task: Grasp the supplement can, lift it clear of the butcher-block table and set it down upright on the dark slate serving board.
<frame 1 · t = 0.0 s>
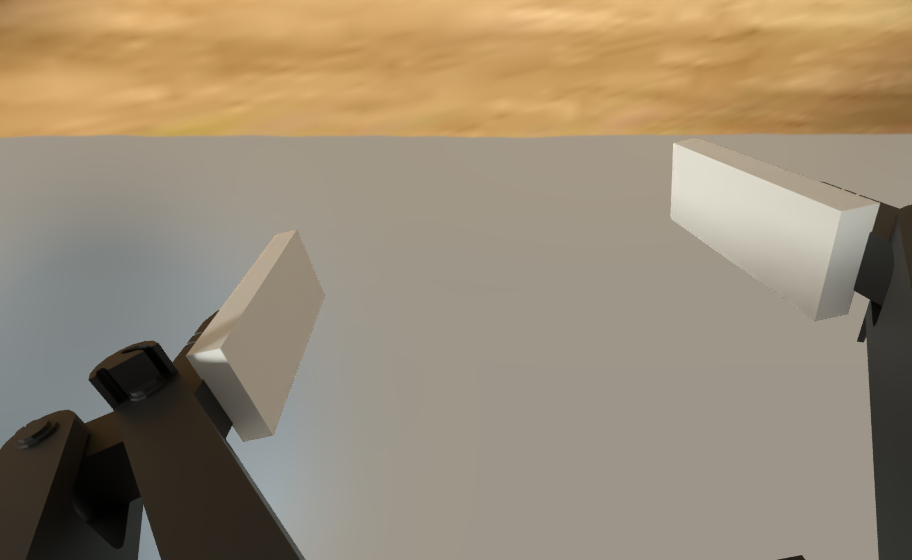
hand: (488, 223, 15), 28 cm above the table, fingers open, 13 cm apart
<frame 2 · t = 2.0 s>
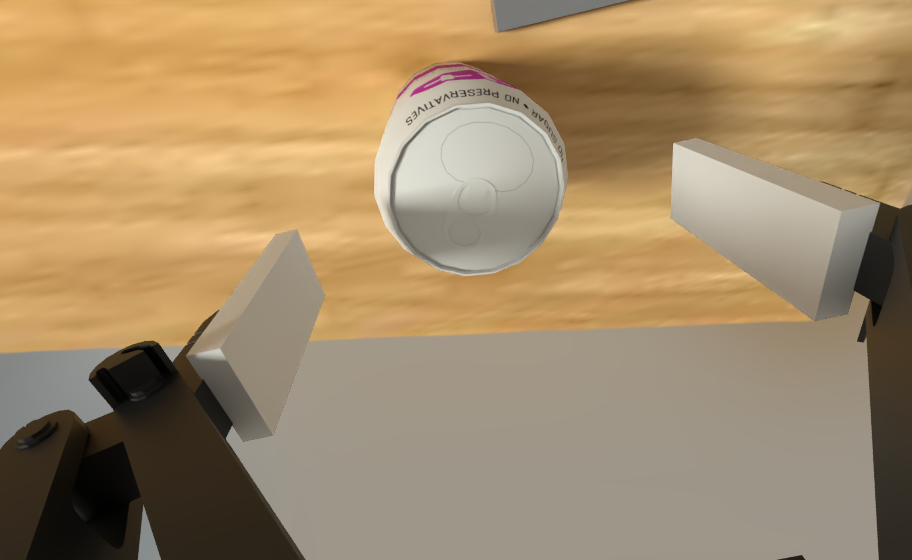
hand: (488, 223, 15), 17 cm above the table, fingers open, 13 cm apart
supplement can: (450, 126, 30), on the table
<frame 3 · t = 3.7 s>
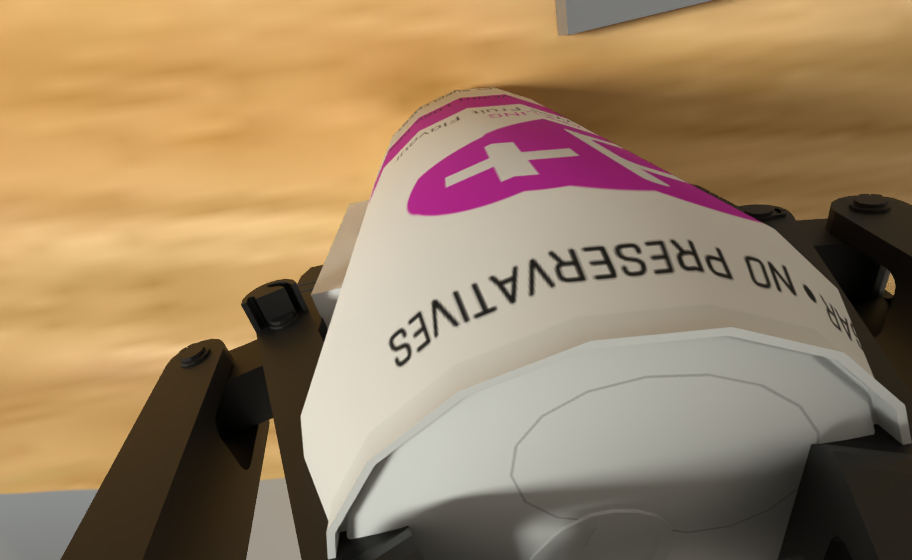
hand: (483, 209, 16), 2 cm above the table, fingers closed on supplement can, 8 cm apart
supplement can: (476, 189, 19), on the table, touching gripper
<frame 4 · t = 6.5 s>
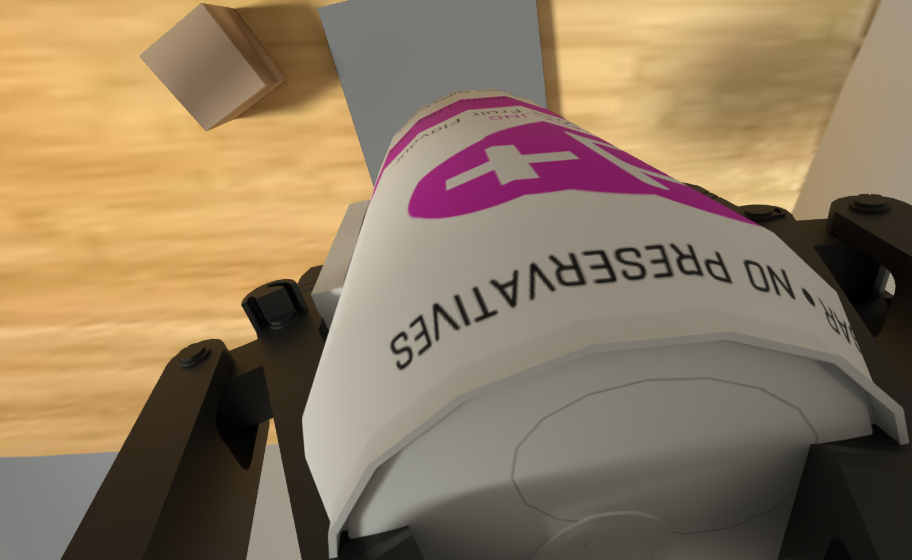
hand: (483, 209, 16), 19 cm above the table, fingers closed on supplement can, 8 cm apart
slate board: (452, 123, 33), on the table
walnut block: (235, 66, 30), on the table
supplement can: (476, 190, 19), point 17 cm above the table, touching gripper
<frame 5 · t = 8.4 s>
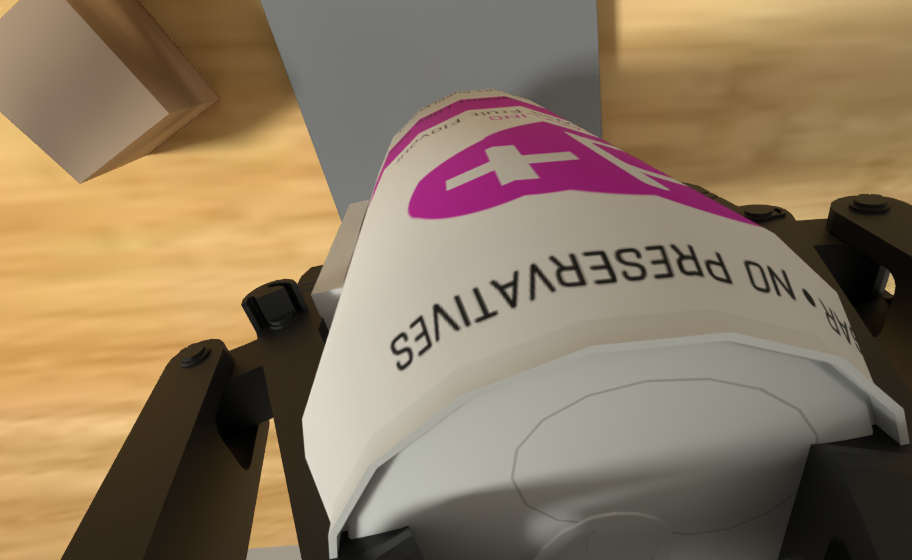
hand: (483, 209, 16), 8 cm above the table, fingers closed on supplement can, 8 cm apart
slate board: (463, 159, 23), on the table
walnut block: (140, 79, 20), on the table
supplement can: (476, 190, 19), point 5 cm above the table, touching gripper
when the fingers open (5 cm above the table, at t = 9.5 s): supplement can drops 1 cm, resting on slate board.
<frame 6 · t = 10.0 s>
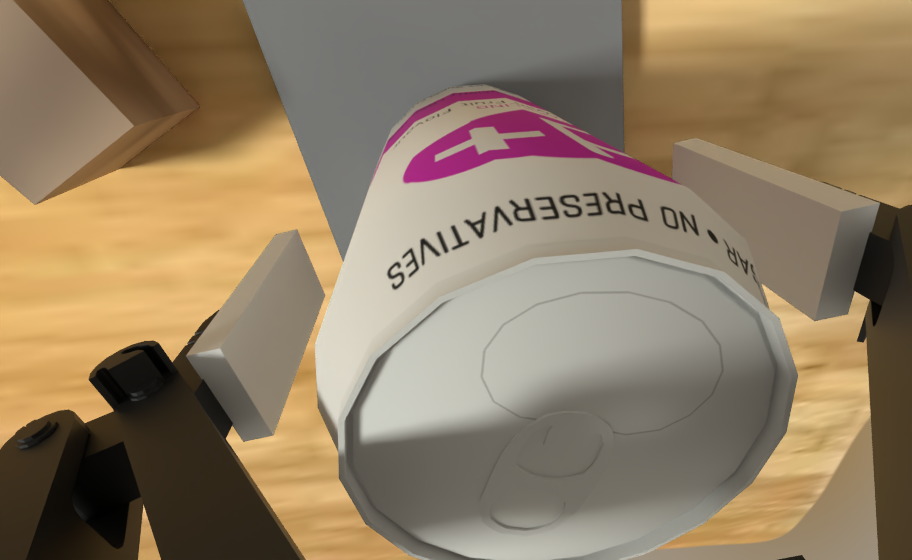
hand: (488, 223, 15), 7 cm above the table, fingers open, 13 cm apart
slate board: (469, 173, 21), on the table
walnut block: (109, 85, 18), on the table
supplement can: (469, 179, 20), point 1 cm above the table, touching slate board
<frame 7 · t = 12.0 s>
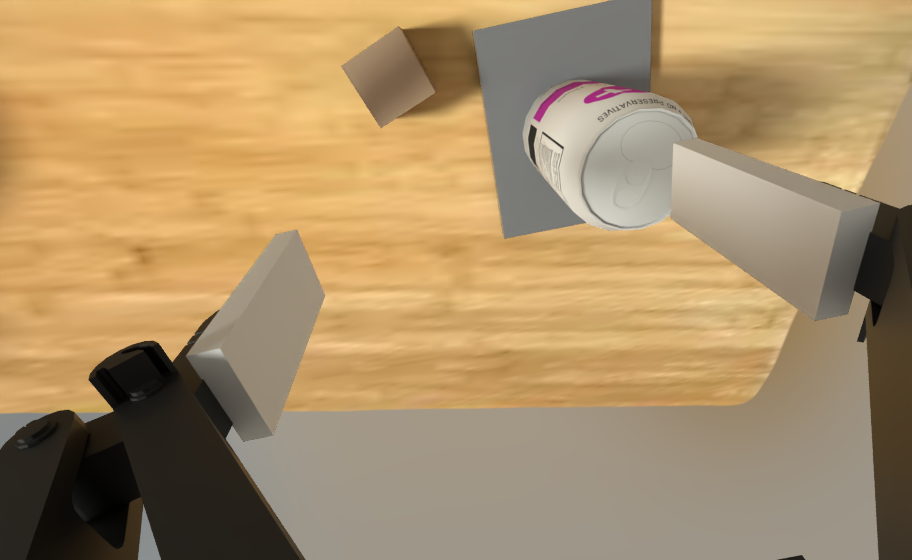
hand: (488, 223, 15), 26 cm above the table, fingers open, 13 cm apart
slate board: (565, 127, 39), on the table
walnut block: (394, 76, 36), on the table
supplement can: (567, 129, 38), point 1 cm above the table, touching slate board
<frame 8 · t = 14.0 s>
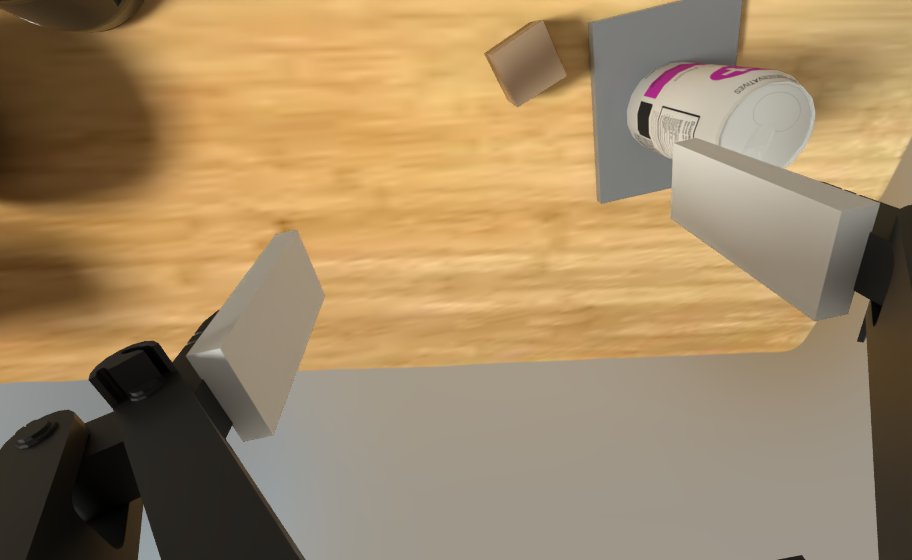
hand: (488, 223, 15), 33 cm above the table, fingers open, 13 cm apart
slate board: (659, 104, 45), on the table
walnut block: (518, 63, 43), on the table
supplement can: (662, 106, 44), point 1 cm above the table, touching slate board
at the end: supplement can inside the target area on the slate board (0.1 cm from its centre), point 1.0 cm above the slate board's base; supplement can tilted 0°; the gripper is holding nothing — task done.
